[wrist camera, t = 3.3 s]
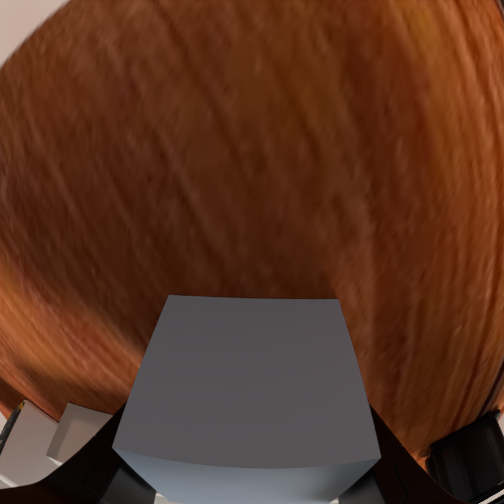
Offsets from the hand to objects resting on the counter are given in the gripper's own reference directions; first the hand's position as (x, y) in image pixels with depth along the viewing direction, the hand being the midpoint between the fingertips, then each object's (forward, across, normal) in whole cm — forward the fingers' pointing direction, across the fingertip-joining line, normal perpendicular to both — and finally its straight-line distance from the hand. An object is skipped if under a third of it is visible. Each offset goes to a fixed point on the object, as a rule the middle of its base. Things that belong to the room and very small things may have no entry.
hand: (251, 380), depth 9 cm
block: (+1, 0, 0) cm, 1 cm away
